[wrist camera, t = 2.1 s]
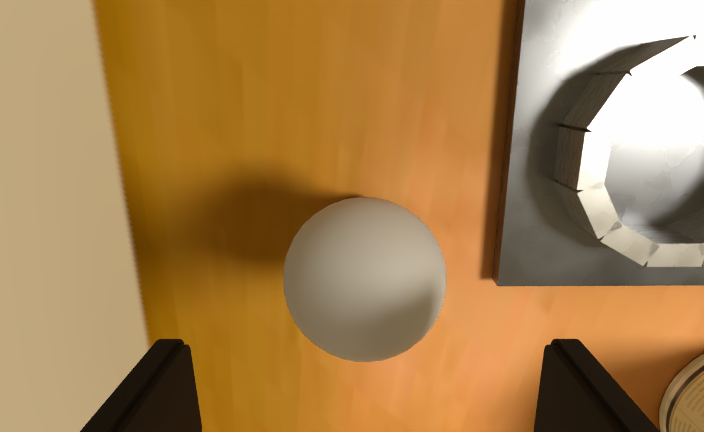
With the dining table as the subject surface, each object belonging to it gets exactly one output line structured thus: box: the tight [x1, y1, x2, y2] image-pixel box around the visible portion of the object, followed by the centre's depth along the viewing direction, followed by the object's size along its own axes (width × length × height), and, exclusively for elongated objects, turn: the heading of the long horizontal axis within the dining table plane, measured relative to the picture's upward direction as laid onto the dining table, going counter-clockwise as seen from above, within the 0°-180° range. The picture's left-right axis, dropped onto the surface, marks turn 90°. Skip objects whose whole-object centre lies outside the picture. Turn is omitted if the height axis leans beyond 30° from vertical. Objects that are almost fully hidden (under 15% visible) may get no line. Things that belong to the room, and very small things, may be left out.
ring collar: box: [492, 0, 704, 286], centre depth 20 cm, size 15×15×4 cm
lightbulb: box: [283, 197, 446, 362], centre depth 18 cm, size 6×6×11 cm
